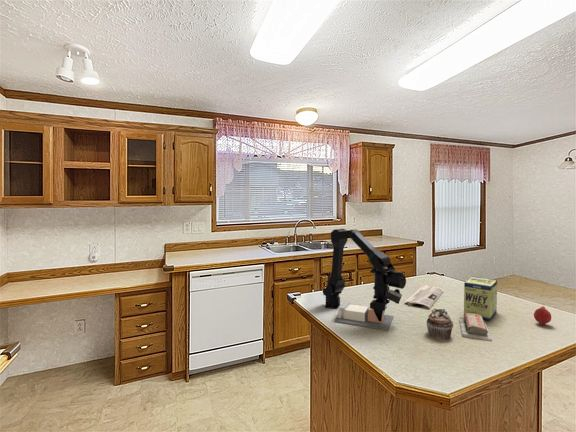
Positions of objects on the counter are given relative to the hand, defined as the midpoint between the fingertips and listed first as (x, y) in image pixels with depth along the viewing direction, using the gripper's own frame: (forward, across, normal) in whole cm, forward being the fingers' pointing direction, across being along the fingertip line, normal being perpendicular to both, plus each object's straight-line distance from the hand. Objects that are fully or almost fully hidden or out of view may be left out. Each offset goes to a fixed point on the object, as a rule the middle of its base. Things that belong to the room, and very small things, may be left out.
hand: (381, 318), depth 139 cm
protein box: (+2, +28, -40) cm, 49 cm away
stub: (+1, 0, +2) cm, 2 cm away
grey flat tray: (+1, 0, +7) cm, 7 cm away
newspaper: (+2, +44, -16) cm, 46 cm away
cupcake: (+2, -4, -23) cm, 24 cm away
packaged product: (+2, +7, -36) cm, 37 cm away
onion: (+2, +24, -62) cm, 67 cm away
